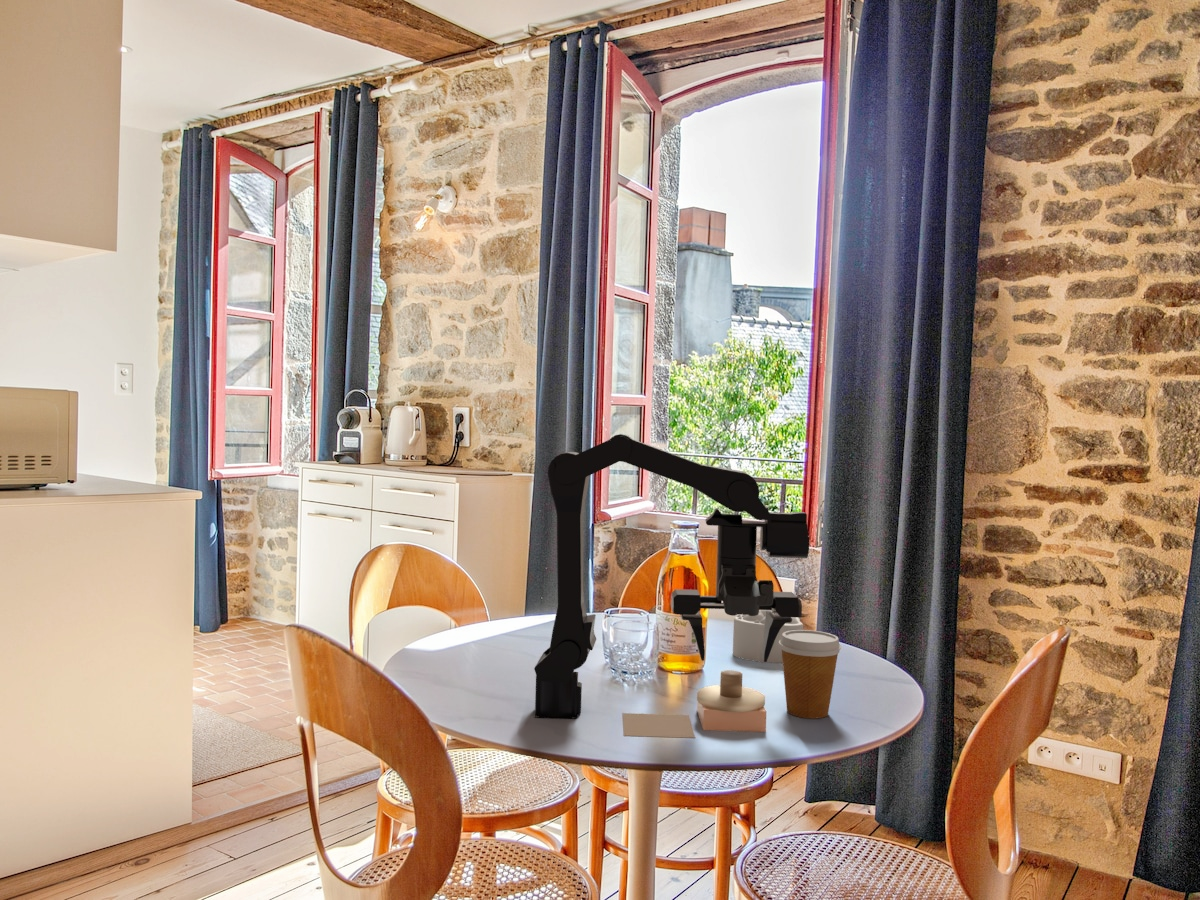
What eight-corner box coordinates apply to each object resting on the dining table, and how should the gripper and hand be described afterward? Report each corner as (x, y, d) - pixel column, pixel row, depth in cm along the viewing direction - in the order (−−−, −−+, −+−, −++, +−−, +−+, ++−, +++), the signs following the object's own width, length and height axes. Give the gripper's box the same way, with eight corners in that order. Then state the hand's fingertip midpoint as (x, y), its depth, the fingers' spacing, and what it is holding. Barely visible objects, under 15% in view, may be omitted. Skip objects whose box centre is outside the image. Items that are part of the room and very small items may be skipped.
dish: (703, 733, 133) (703, 709, 133) (696, 714, 142) (697, 691, 142) (765, 735, 133) (766, 711, 133) (755, 715, 142) (756, 693, 142)
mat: (623, 739, 130) (623, 735, 130) (622, 717, 140) (622, 713, 140) (695, 741, 130) (695, 737, 130) (688, 719, 140) (688, 715, 140)
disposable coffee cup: (794, 699, 151) (796, 626, 151) (849, 712, 145) (851, 636, 145) (765, 712, 144) (767, 635, 143) (821, 726, 138) (824, 646, 137)
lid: (700, 710, 132) (701, 681, 132) (693, 690, 142) (694, 663, 142) (770, 712, 132) (771, 683, 132) (758, 692, 142) (759, 665, 142)
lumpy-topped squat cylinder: (804, 664, 174) (805, 618, 174) (734, 661, 175) (735, 615, 175) (796, 651, 184) (798, 607, 184) (731, 648, 185) (732, 605, 185)
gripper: (677, 562, 129) (674, 674, 129) (811, 566, 129) (808, 677, 129) (671, 551, 140) (669, 654, 140) (795, 554, 140) (792, 657, 140)
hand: (733, 660), depth 137 cm, fingers open, 9 cm apart
